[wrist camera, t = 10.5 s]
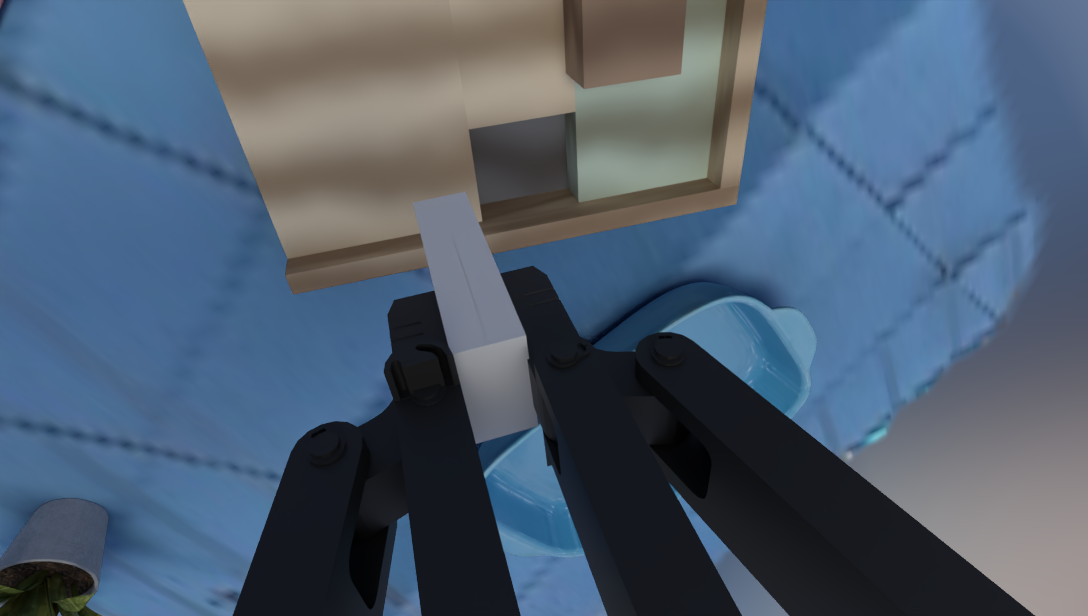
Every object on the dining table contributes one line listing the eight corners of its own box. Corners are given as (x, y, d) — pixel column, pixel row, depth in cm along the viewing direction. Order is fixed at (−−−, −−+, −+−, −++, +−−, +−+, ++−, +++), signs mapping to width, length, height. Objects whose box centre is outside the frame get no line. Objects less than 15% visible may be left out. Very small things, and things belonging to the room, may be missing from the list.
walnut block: (561, -40, 32) (581, -32, 29) (662, -51, 33) (690, -45, 30) (565, 73, 36) (583, 89, 33) (656, 59, 37) (681, 74, 34)
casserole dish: (724, 212, 49) (772, 254, 44) (805, 343, 63) (850, 388, 57) (414, 455, 57) (421, 517, 51) (547, 525, 70) (564, 581, 65)
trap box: (88, -284, 24) (39, -314, 21) (757, -309, 30) (818, -336, 26) (297, 255, 41) (293, 294, 37) (703, 176, 46) (736, 203, 42)
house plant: (-110, 499, 44) (-295, 753, 31) (68, 431, 44) (-41, 652, 32) (41, 581, 53) (-54, 803, 40) (187, 523, 53) (139, 724, 41)
